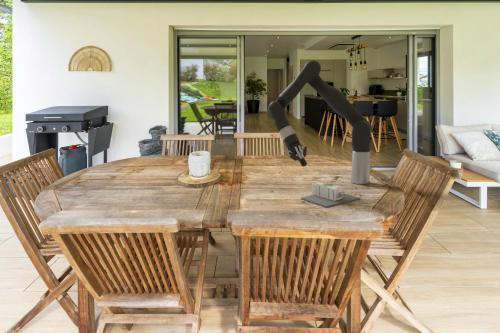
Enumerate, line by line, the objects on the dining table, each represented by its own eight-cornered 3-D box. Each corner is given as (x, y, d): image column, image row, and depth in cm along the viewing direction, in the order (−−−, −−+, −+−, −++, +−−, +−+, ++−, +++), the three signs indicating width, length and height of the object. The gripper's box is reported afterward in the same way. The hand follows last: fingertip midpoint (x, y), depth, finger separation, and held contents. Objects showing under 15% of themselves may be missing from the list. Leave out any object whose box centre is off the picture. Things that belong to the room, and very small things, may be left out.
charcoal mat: (334, 191, 189) (334, 190, 188) (360, 199, 176) (360, 197, 176) (300, 199, 176) (300, 197, 176) (326, 207, 163) (326, 206, 163)
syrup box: (311, 194, 181) (335, 201, 170) (311, 182, 180) (335, 189, 169) (320, 192, 185) (343, 199, 173) (320, 180, 183) (344, 186, 172)
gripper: (294, 137, 203) (310, 165, 200) (275, 143, 196) (291, 172, 192) (302, 130, 197) (318, 159, 193) (282, 136, 190) (299, 166, 186)
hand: (304, 165), depth 193 cm, fingers closed
